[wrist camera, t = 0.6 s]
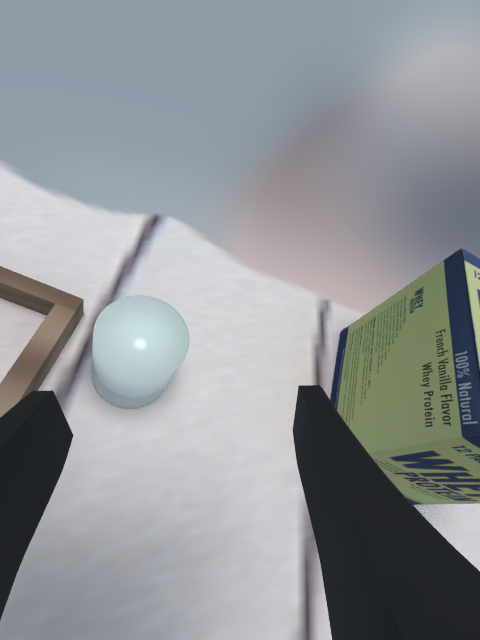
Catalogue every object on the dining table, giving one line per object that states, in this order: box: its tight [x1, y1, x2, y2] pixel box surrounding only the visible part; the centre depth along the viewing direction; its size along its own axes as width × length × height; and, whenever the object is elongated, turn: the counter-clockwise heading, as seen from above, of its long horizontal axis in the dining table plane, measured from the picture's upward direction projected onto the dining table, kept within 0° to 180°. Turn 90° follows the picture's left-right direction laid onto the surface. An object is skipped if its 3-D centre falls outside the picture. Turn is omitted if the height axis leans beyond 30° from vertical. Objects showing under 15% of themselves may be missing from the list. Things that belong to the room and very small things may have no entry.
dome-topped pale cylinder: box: [92, 295, 189, 409], centre depth 24 cm, size 6×6×7 cm
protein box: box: [331, 248, 480, 505], centre depth 28 cm, size 10×16×16 cm
